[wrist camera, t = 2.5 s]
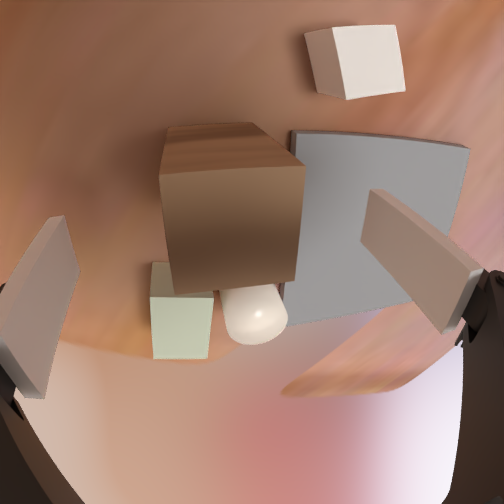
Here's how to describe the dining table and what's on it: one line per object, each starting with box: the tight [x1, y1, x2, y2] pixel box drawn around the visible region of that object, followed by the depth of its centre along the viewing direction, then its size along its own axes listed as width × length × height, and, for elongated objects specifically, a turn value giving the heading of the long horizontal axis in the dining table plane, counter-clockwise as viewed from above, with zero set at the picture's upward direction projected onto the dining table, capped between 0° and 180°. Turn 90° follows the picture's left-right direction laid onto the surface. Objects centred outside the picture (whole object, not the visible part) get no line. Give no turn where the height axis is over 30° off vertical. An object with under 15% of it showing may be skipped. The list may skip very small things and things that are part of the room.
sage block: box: [150, 262, 214, 359], centre depth 22 cm, size 6×4×4 cm, turn 171°
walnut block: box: [159, 123, 306, 295], centre depth 15 cm, size 5×5×9 cm
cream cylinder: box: [219, 284, 288, 345], centre depth 22 cm, size 4×4×5 cm
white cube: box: [304, 25, 406, 100], centre depth 15 cm, size 4×4×4 cm
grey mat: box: [280, 130, 470, 327], centre depth 24 cm, size 16×16×1 cm
